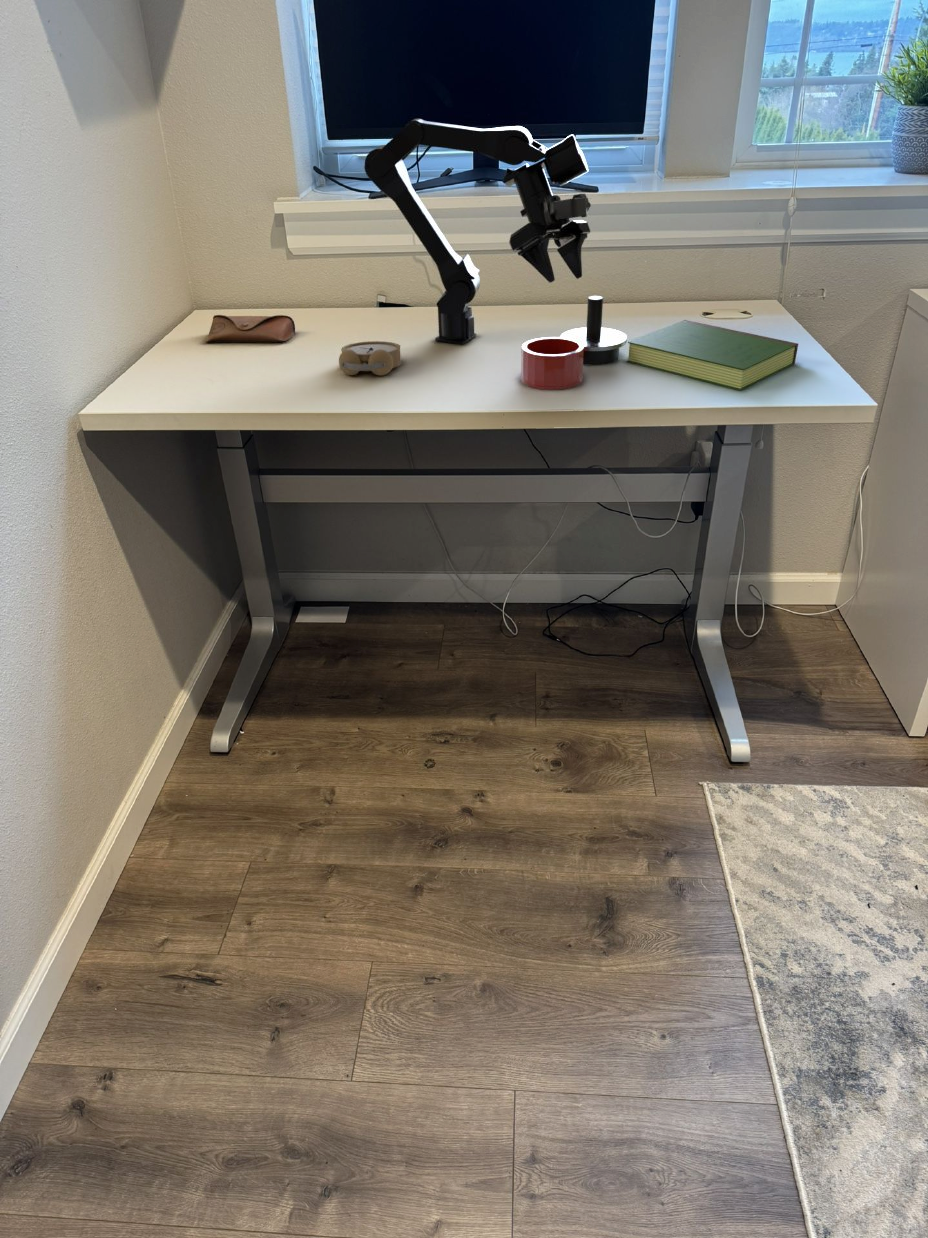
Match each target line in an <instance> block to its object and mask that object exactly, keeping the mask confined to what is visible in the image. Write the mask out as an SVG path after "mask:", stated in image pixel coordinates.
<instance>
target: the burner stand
mask: <svg viewBox="0 0 928 1238" xmlns="http://www.w3.org/2000/svg"><path fill="white" fill-rule="evenodd" d="M619 357H620V347H619V348H616V349H612V350H606V351H584V362H583V365H585V366H586V365H587V366H599V365H607V364H611V363H614V362H616V361H617V360H619Z"/></svg>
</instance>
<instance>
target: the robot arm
mask: <svg viewBox="0 0 928 1238" xmlns="http://www.w3.org/2000/svg"><path fill="white" fill-rule="evenodd" d="M419 146H425V147H426V146H427V147H432V148H433V147H434V148H440V149H449V150H455V151H462V152H471V153H478V154H481V155H484V156H486V157H488V158H490V159H493V160H495V161H498V162H501V163H503V164H507V165H510V166H518V165H521V164H522V163H524V162H525V164H523V165H521V166H519V167H516V168H515V169H511V168H510V167H507V168H506V172H505V174H504V177H503V178H502V184H504V185H505V186H507V187H508V188H509V187H511V186H513V185H515V187H516V190H517V193H518V195H519V198H520V201H521V204H522V207H523V209H522V210H520V211H519V212H520V215H521V217H522V218H523V217H525V218H526V219H527V221H528V223H526V224H525V225H524V226H522V227H521V228H518V229H517V230H515V231H514V232H513V233H511V234H510V236H509V241H508V243H509V246H510V248H511V252H513V253H514V252H515V253H516V252H517V255H518V257H522V258H523V259H524V260H525V261H526V262H527V263H529V264H530V265H531V266H532V267H533V268H534V269H535V270H536V271H537V272H538V273H539V274H540V275H541V276H542V277H543V278H544V279H545V280H546V281H547V282H548V283H549V284H550V283H553V282H555V281H556V277H555V274H554V273H555V272H554V269H553V266H552V262H551V258H550V255H549V251H548V249H549V243H550V241H553V242H554V245H556V247H558V248H557V249H556V251H557V253H558V254H559V256H560V257H561V258H562V260H563V262H564V264H566V266H567V267H568V269H569V270H570V272H571V274H572V275H573V276H574V277H575V279H577V280H578V279H580V278H582V277H583V266H582V265H583V262H582V261H583V260H582V248H583V244H584V242H585V240H587V239H588V235H589V234H591V229H590V226H589V222H588V221H585V220H583V219H577V220H576V219H575V220H570V219H574V218H587V217H588V212H589V210H590V208H591V206H592V205H591V202H590V201H589V198H588V197H587V195H586V193H584V192H583V193H578V194H573V195H572V198H567V199H561V197H560V196H559V195H555V194H554V195H553V192H552V189H551V186H550V184H549V183H550V182H551V183H552V184H558V186H560V187H562V186H564V185H566V184H568V183H569V182H572V181H573V180H575V179H578V178H579V177H581V176H584V175H585V174H587V173H589V167H588V166H589V165H588V163H587V160H586V158H585V154H584V153H583V150H582V149H581V148H580V146H579V143H578V141H577V140H576V137H575V135H574V134H570V135H568V136H567V137H566V138H564V139H563V140H562V141H560V142H557V143H556V144H554V145H552V146H551V147H546V145H544V144H541V143H539V142H538V141H536V140H534V139H533V137H532V134H531V133H530V131H529V130H528V129H527V128H525V126H524V127H523V126H522V125H515V126H514V125H513V126H500V127H499V126H498V127H492V128H478V127H471V126H464V125H458V124H450V123H443V122H442V123H441V122H436V121H429V120H428V121H427V120H424V119H422V118H414V119H412V120H410V121H409V122H407V123H406V124H405V126H404V127H403V128H402V129H401V130H400V131H399V132H398V133H397V134H396V135H395V136H394V137H392V139H390V141H388V142H387V143H386V144H384V145H383V144H382V145H380V146H378V147H376V148H374V149H372V150H371V151H369V152H368V153H367V155H366V156H365V159H364V165H363V168H364V173H365V174H366V176H367V178H369V180H370V181H371V182H372V183H373V184H374V185H375V186H376V187H377V188H378V190H379V191H381V192H382V193H383V194H384V195H385V196H387V197H388V198H389V199H390V200H392V201H393V203H394V204H395V205H396V207H397V208H398V210H399V211H400V212H401V214H402V215H403V217H404V219H405V220H406V221H407V223H408V225H409V226H410V228H411V229H412V231H413V232H414V233H415V235H416V237H417V238H418V239H419V242H420V243H421V244H422V246H423V247H424V249H425V251H426V252H427V253H428V254H429V256H430V258H431V259H432V261H433V263H434V264H435V265H436V267H437V271H438V274H439V277H440V279H441V283H442V286H443V288H444V290H445V291H444V292H443V293H442V295H441V296H440V298H439V299H438V300H437V302H436V308H437V324H438V325H437V326H438V336H436V337H435V338H434V341H435V342H441V343H447V344H456V345H464V344H465V343H467V342H469V341H471V340H472V339H474V338H476V337H477V333H475V316H474V315H473V309H472V307H471V306H468V304H470V303H471V302H472V301H473V300H474V298H475V297H476V295H477V293H478V291H479V289H480V286H481V278H480V275H479V273H480V269H478V268H477V267H476V266H475V264H474V263H473V261H472V259H471V256H470V255H469V254H468V253H466V254H465V255H464V256H463V257H462V256H461V255H459V254H458V253H457V252H456V251H455V250H454V248H453V247H452V246H451V244H450V243H449V241H448V239H447V238H446V236H445V235H444V233H443V232H442V230H441V228H439V226H438V224H437V222H436V221H435V219H434V218H433V216H432V215H431V213H430V212H429V211H428V209H427V207H426V206H425V205H424V203H423V201H422V200H421V198H420V197H419V195H418V193H417V192H416V191H415V189H414V187H413V185H412V182H411V179H410V176H409V172H408V170H407V167H406V165H405V162H404V161H405V160H406V158H408V157H409V156H410V155H411V154H412V153H413V152H414V151H415V150H416V149H417V147H419ZM526 162H529V163H533V164H531V165H529V163H526ZM545 170H546V172H545ZM546 173H547V175H548V178H549V180H550V182H549V181H548V178H547V175H546Z"/></svg>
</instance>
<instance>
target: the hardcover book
mask: <svg viewBox="0 0 928 1238" xmlns="http://www.w3.org/2000/svg"><path fill="white" fill-rule="evenodd" d="M627 344H628V345H629V346H628V359H626V362H627V363H631V364H633V365H638V366H642V367H646V368H649V369H653V370H658V371H662V372H665V373H669V374H673V375H676V376H677V375H678V376H682V377H685V378H688V379H692V380H697V381H701V382H705V383H708V384H712V385H717V386H720V387H724V388H728V389H732V390H736V391H739V392H741V391H743V390H745V389H747V388H749V387H751V386H753V385H756V384H757V383H759V382H761V381H764V380H765V379H767V378H769V377H771V376H773V375H775V374H777V373H780V372H782V371H783V370H786V369H788V368H790V367H791V366H793V365H795V364H796V360H797V354H798V348H799V343H798V342H793V341H788V340H783V339H779V338H773V337H769V336H764V335H758V334H756V333H755V334H754V333H750V332H746V331H739V330H735V329H730V328H726V327H721V326H717V325H712V324H707V323H702V322H697V321H692V320H687V319H684V320H682V321H678V322H675V323H674V324H671V325H668V326H665V327H663V328H660V329H658V330H655V331H652V332H649V333H646V334H644V335H642V336H639V337H636V338H634V339H631V340H629V341H628V340H627Z"/></svg>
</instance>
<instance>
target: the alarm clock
mask: <svg viewBox="0 0 928 1238" xmlns="http://www.w3.org/2000/svg"><path fill="white" fill-rule="evenodd" d="M340 351H341V353H340V354H339V356H338V366H339V368H340V370H341V371H342V372H343V373H344V374H345V375H349V376H355V375H357V374H359V372H372V374H374V375H376V376H386V375H387V374H389V373H390V372H391V371H392V369H395V368H397V367H399V366H401V365H402V359H401V358H402V357H401V345H400V344H398V343H395V342H392V341H381V340H373V341H372V340H369V341H358V342H353V343H349V344H346V345H344V346H342V347H341V349H340Z"/></svg>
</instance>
